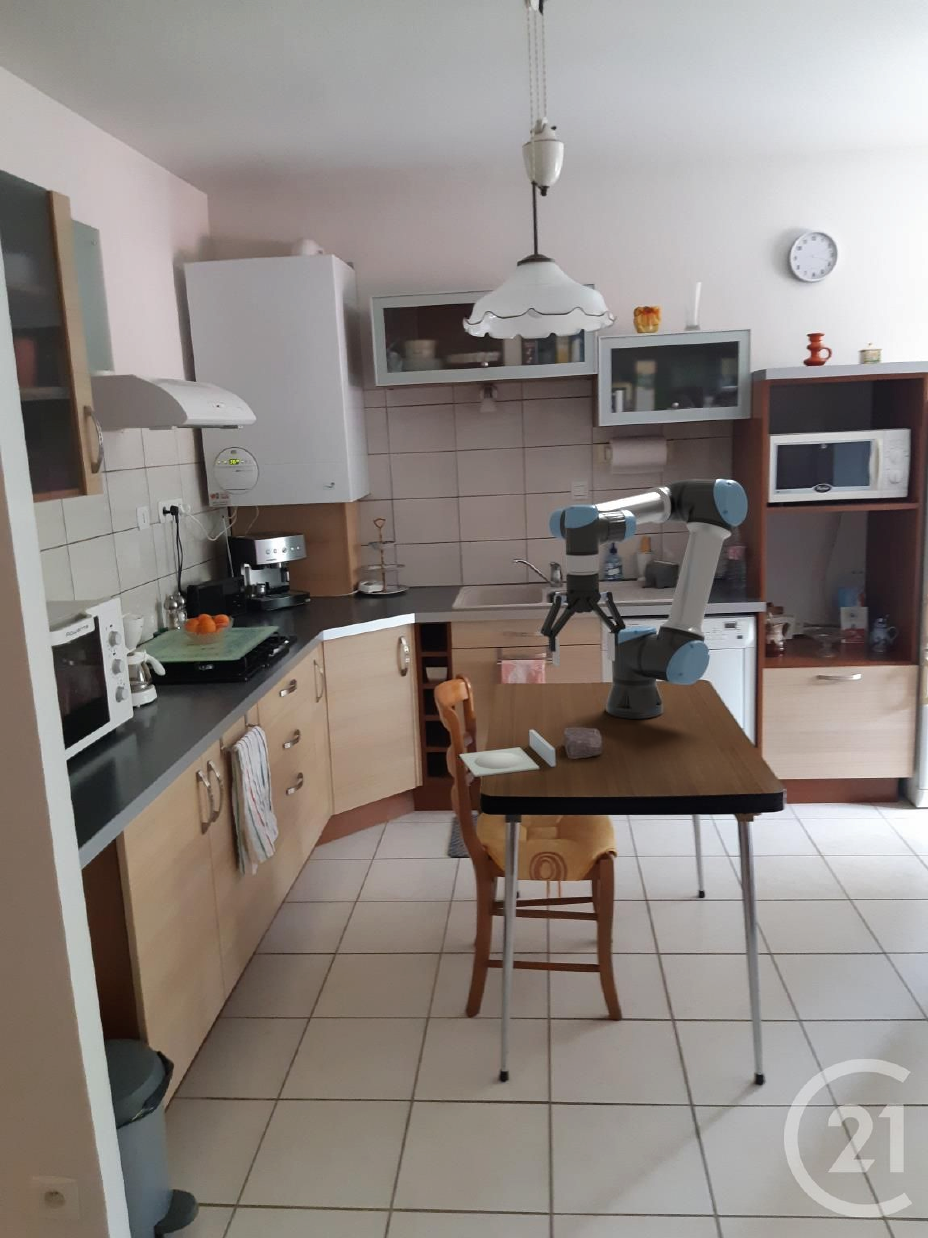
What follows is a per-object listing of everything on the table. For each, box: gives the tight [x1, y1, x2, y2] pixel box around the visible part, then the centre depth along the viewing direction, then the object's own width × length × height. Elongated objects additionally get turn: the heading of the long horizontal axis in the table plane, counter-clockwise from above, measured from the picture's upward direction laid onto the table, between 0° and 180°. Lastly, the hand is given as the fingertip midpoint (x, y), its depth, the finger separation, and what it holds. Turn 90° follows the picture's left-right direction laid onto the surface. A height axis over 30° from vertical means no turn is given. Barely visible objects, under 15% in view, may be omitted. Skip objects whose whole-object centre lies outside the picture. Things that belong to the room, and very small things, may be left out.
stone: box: [563, 727, 603, 759], centre depth 220 cm, size 12×9×5 cm
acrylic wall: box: [528, 729, 556, 767], centre depth 218 cm, size 1×16×4 cm, turn 13°
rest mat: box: [459, 747, 540, 778], centre depth 214 cm, size 15×15×1 cm
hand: (583, 662), depth 217 cm, fingers open, 13 cm apart
